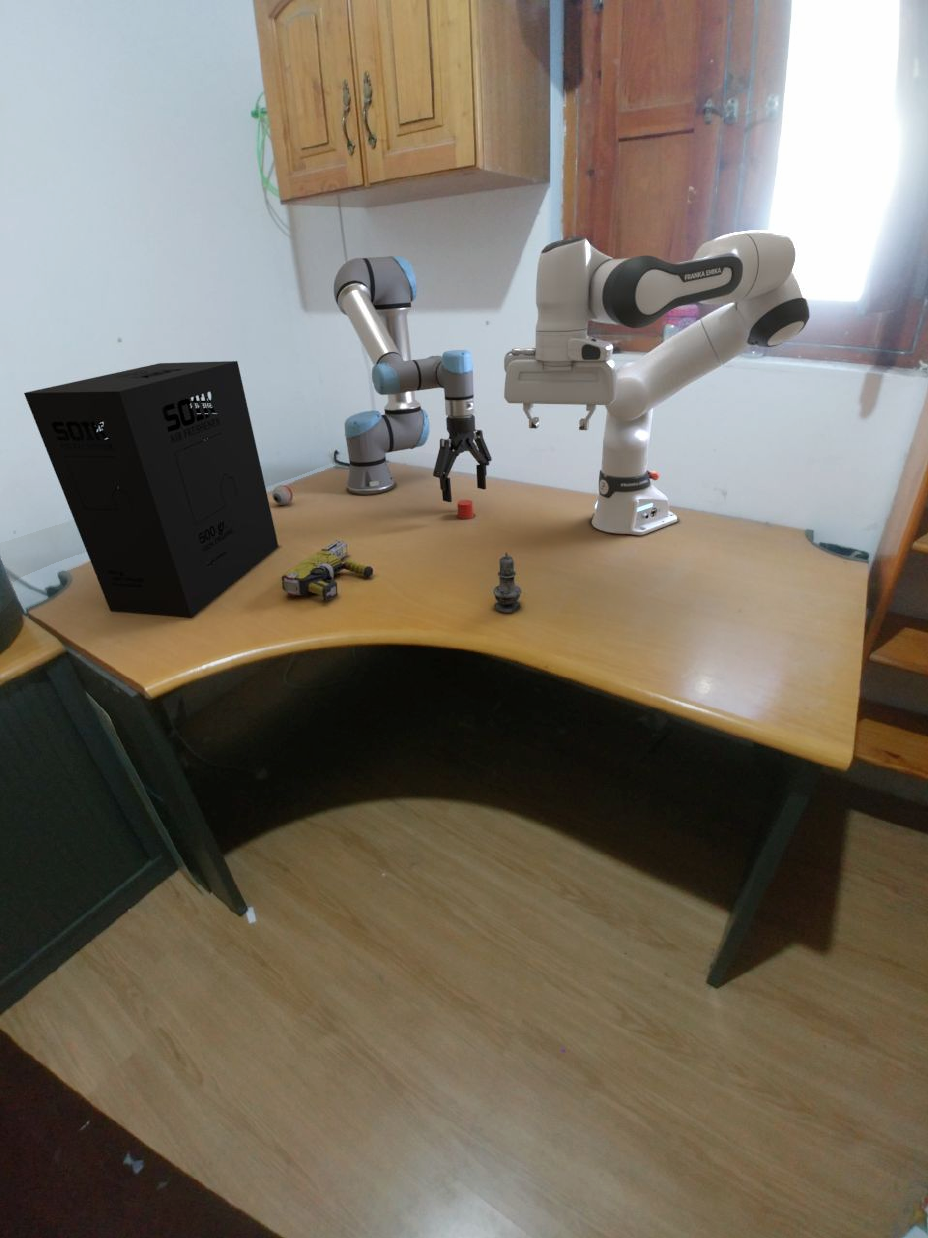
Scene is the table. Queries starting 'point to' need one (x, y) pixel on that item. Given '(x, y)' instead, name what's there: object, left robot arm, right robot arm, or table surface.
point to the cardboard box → (160, 481)
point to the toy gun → (321, 572)
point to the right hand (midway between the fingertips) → (558, 428)
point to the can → (465, 509)
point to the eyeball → (282, 495)
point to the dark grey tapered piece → (507, 586)
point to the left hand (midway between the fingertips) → (464, 494)
